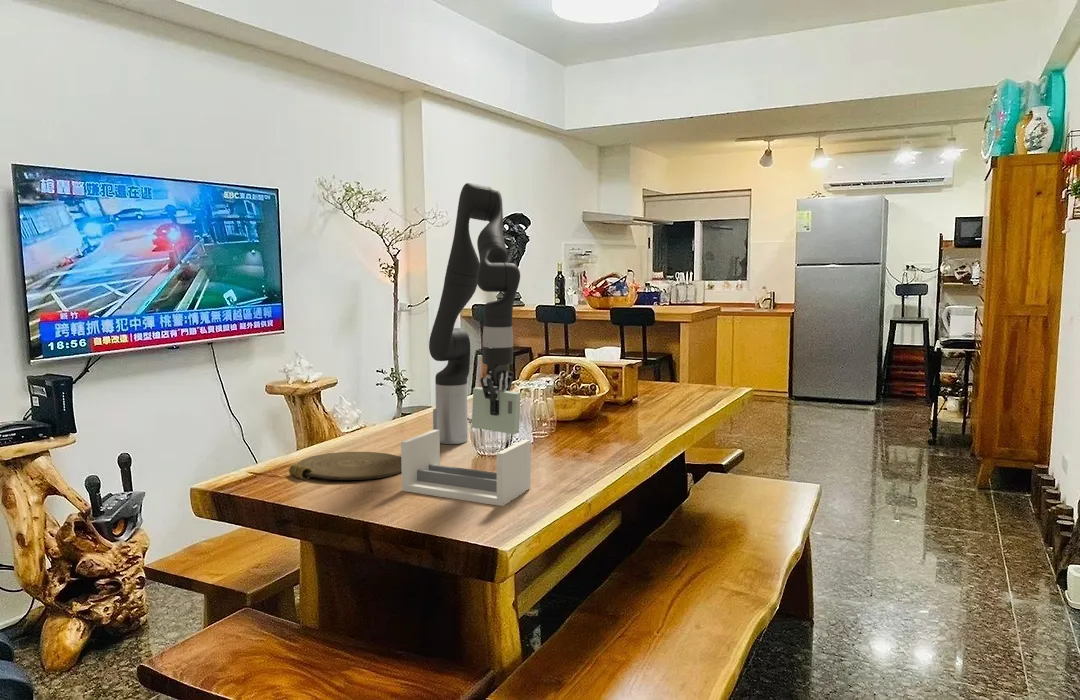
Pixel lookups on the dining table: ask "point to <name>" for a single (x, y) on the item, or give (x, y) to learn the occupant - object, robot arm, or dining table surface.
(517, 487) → the grey u-shaped open holder
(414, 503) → the dining table surface
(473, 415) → the door panel
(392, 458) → the decorative disc
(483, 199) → the robot arm
